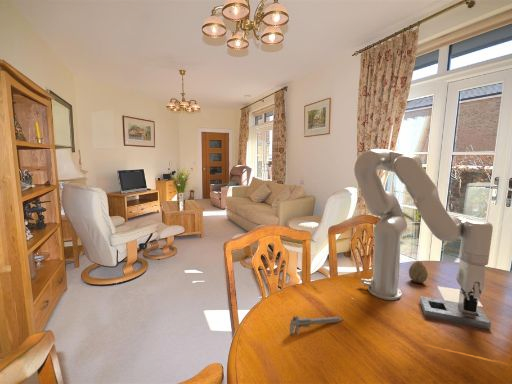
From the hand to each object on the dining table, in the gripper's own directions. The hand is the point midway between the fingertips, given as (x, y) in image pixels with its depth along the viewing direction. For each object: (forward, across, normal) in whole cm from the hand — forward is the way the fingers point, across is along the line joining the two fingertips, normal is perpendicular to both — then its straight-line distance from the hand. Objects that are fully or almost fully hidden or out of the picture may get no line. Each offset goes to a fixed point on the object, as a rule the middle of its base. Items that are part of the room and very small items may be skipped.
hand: (467, 306), depth 90 cm
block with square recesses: (+5, 0, -4) cm, 6 cm away
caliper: (+6, +24, -47) cm, 53 cm away
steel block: (+3, 0, 0) cm, 3 cm away
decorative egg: (+5, -24, -11) cm, 27 cm away
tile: (+5, -16, +2) cm, 17 cm away
